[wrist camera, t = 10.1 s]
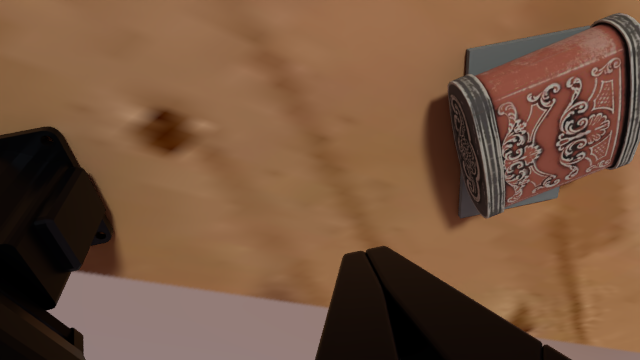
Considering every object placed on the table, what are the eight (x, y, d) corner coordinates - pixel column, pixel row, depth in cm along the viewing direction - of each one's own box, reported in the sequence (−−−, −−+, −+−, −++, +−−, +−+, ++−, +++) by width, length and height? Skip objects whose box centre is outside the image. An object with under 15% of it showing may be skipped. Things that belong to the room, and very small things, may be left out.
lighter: (464, 192, 25) (634, 125, 24) (493, 232, 22) (686, 158, 21) (440, 69, 20) (654, -20, 19) (475, 102, 17) (725, -1, 16)
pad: (458, 215, 26) (460, 218, 25) (466, 49, 20) (469, 51, 20) (554, 194, 26) (557, 197, 26) (589, 25, 20) (593, 27, 20)
